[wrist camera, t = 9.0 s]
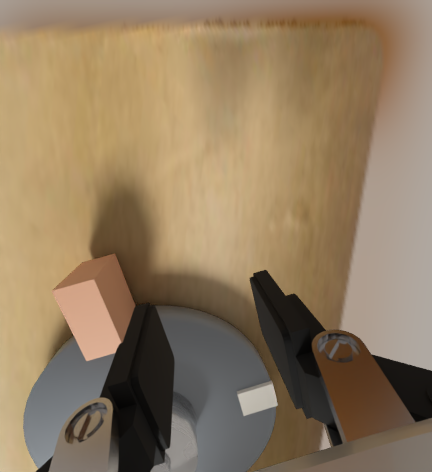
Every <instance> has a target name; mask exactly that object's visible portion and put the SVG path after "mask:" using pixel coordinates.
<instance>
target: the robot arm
mask: <svg viewBox="0 0 432 472" xmlns="http://www.w3.org/2000/svg"><path fill="white" fill-rule="evenodd" d="M253 276H254V277H251V278H250V283H251V287H252V291H253V296H254V300H255V305H256V309H257V313H258V318H259V322H260V327H261V330H262V334H263V336H264V339H265V341H266V343H267V345H268V348H269V350H270V352H271V354H272V357H273V359H274V361H275V363H276V365H277V368H278V370H279V372H280V374H281V377H282V379H283V381H284V383H285V385H286V388H287V390H288V392H289V394H290V397H291V399H292V401H293V403H294V405H295V407H296V409H299V408H302V409H303V412H304V414H305V416H306V418H307V419H308V418H311V417H312V418H314V419H316V420H318V421H320V422H322V423H324V426H325V430H326V433H327V436H328V439H329V442H330V445H331V448H328V449H325V450H321V451H318V452H315V453H311V454H308V455H305V456H302V457H298V458H295V459H292V460H289V461H285V462H282V463H279V464H276V465H272V466H269V467H266V468H263V469H260V470H257V471H253V472H432V371H430V370H426V369H423V368H419V367H415V366H412V365H408V364H404V363H401V362H397V361H393V360H390V359H386V358H382V357H379V356H375V355H371V353H370V352H369V350H368V349H367V348H366V346H365V344H364V343H363V342H362V341H361V340H360V338H358V337H357V336H355V335H354V334H352V333H349V332H346V331H342V330H327V331H326V330H325V329H324V328H323V326H322V325H321V324H320V323H319V322H318V320H317V319H316V318H315V317H314V316H313V314H312V313H311V312H310V311H309V310H308V308H307V307H306V306H305V305H304V304H303V302H302V301H301V300H300V299H299V298H298V296H297V295H296V294H290V295H287V296H285V294H284V293H283V292H282V290H281V289H280V288H279V286H278V285H277V284H276V282H275V281H274V280H273V278H272V277H271V276H270V274H269V273H268V272H267V270H263V271H260V272H256V273H253ZM174 367H175V360H174V355H173V352H172V349H171V347H170V344H169V341H168V339H167V336H166V333H165V331H164V328H163V325H162V322H161V320H160V317H159V314H158V312H157V309H156V307H155V305H150V303H146V304H142V305H139V306H135V308H134V311H133V314H132V316H131V319H130V322H129V325H128V328H127V331H126V334H125V337H124V340H123V342H122V343H120V344H119V346H118V348H117V350H116V353H115V356H114V359H113V361H112V364H111V367H110V370H109V372H108V375H107V378H106V381H105V383H104V386H103V389H102V392H101V394H100V397H99V398H96V399H93V400H90V401H88V402H87V403H85V404H83V405H82V406H80V407H79V408H78V409H77V410H75V411H74V412H73V414H72V415H71V416H70V417H69V418H68V419H67V421H66V422H65V424H64V425H63V427H62V429H61V431H60V434H59V437H58V440H57V444H56V447H55V451H54V454H53V456H52V457H51V458H50V459H49V460H48V461H47V462H46V463H45V464H44V465H42V466H41V467H40V468H39V469H38V470H37V471H36V472H150V471H151V470H152V468H153V467H154V466H156V465H159V464H162V463H164V462H165V449H169V448H170V444H171V425H172V406H173V386H174Z"/></svg>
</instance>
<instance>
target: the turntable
mask: <svg viewBox="0 0 432 472" xmlns="http://www.w3.org/2000/svg"><path fill="white" fill-rule="evenodd" d="M52 293H53V295H54V297H55V299H56V301H57V303H58V305H59V307H60V309H61V311H62V313H63V315H64V317H65V319H66V321H67V323H68V325H69V327H70V329H71V331H72V333H73V336H72V337H71V338H70V339H69V340H68V341H67V342H65V343H64V344H63V346H62V347H61V348H60V349H59V350H58V351H57V353H56V354H55V355H54V356H53V358H52V359H51V361H50V362H49V364H48V365H47V366H46V368H45V369H44V371H43V372H42V374H41V375H40V377H39V378H38V380H37V381H36V383H35V385H34V386H33V388H32V390H31V393H30V395H29V397H28V400H27V403H26V408H25V412H24V425H23V429H24V436H25V442H26V445H27V448H28V451H29V454H30V455H31V457H32V459H33V461H34V463H35V464H36V466H37V467H38V469H39V468H40V467H41V466H42V465H44V464H45V463H46V462H47V461H48V460H49V459H50V458H51V457H52V456H53V454H54V451H55V447H56V444H57V440H58V437H59V434H60V431H61V429H62V427H63V425H64V424H65V422H66V421H67V419H68V418H69V417H70V416H71V415H72V414H73V412H74V411H75V410H77V409H78V408H79V407H80V406H82V405H83V404H85V403H87V402H88V401H90V400H93V399H96V398H99V397H100V394H101V392H102V389H103V386H104V383H105V381H106V378H107V375H108V372H109V370H110V367H111V364H112V361H113V359H114V356H115V353H116V350H117V348H118V346H119V344H120V343H122V342H123V340H124V337H125V334H126V331H127V328H128V325H129V322H130V319H131V316H132V314H133V311H134V308H135V303H134V301H133V298H132V296H131V293H130V291H129V288H128V285H127V283H126V280H125V278H124V275H123V273H122V270H121V268H120V265H119V263H118V260H117V257H116V255H115V254H111V255H108V256H104V257H100V258H97V259H93V260H89V261H86V262H82V263H81V264H80V265H79V266H78V267H77V268H76V269H75V270H74V271H73V272H72V273H70V274H69V275H68V276H67V277H66V278H65V279H64V280H63V281H62V282H61V283H60V284H59V285H57V286H56V287H55V288H54V289H53V290H52ZM155 307H156V309H157V312H158V314H159V317H160V320H161V322H162V325H163V328H164V331H165V333H166V336H167V339H168V341H169V344H170V347H171V349H172V352H173V355H174V360H175V367H174V386H173V391H175V392H177V393H179V394H181V395H183V396H184V397H185V398H186V399H187V400H188V401H189V402H190V403H191V404H192V406H193V408H194V410H195V413H196V426H197V448H198V463H197V468H196V470H195V472H246V471H247V470H249V469H250V467H251V466H252V465H253V464H254V463H255V462H256V460H257V459H258V458H259V456H260V455H261V453H262V452H263V450H264V449H265V447H266V445H267V443H268V441H269V439H270V436H271V434H272V431H273V428H274V423H275V417H276V406H278V403H277V399H276V395H275V390H274V386H273V383H272V381H271V380H270V378H269V375H268V373H267V370H266V368H265V365H264V363H263V361H262V359H261V357H260V355H259V353H258V351H257V350H256V348H255V347H254V346H253V344H252V343H251V342H250V341H249V340H248V339H247V338H246V337H245V336H244V335H243V334H242V333H241V332H240V331H239V330H237V329H236V328H235V327H233V326H232V325H231V324H229V323H227V322H225V321H224V320H222V319H220V318H218V317H216V316H213V315H211V314H208V313H205V312H203V311H199V310H195V309H191V308H186V307H178V306H155Z"/></svg>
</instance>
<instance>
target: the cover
mask: <svg viewBox="0 0 432 472" xmlns="http://www.w3.org/2000/svg"><path fill="white" fill-rule="evenodd" d="M197 463H198V448H197V426H196V413H195V410H194V408H193V406H192V404H191V403H190V402H189V401H188V400H187V399H186V398H185V397H184V396H183V395H181V394H179V393H177V392H175V391H173V406H172V425H171V444H170V448H169V449H165V462H164V463H162V464H159V465H156V466H154V467H153V468H152V470H151V471H150V472H195V470H196V468H197Z"/></svg>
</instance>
